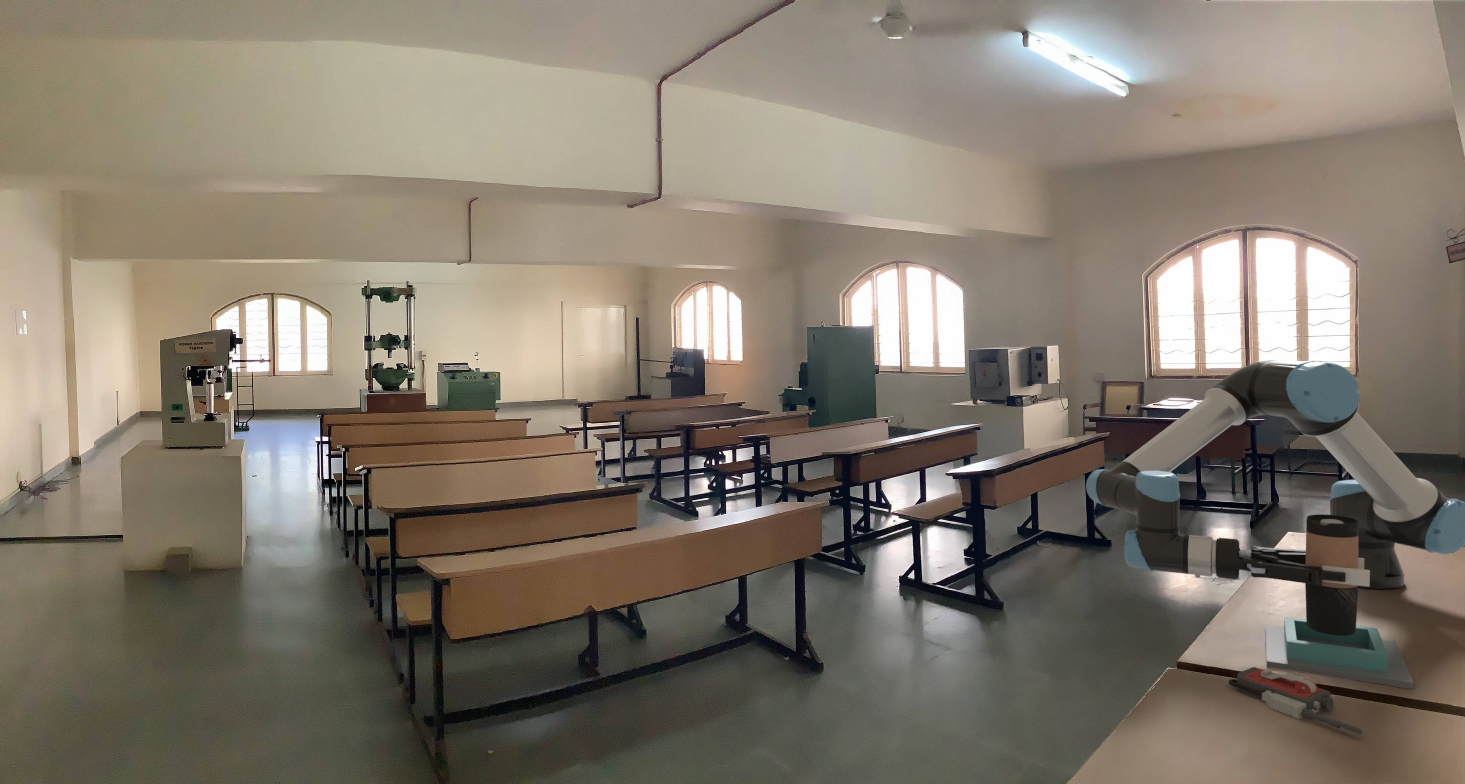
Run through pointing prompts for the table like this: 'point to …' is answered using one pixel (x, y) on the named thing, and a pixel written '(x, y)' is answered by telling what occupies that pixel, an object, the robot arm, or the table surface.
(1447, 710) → the table surface
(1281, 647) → the mug dock
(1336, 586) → the travel mug
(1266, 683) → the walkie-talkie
